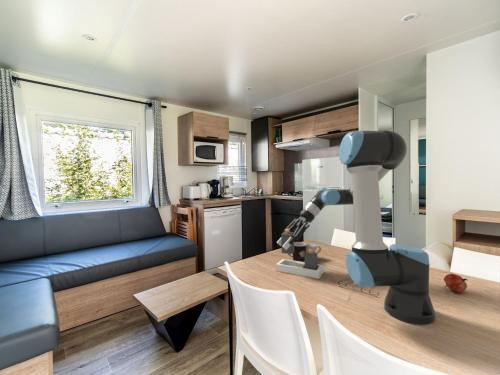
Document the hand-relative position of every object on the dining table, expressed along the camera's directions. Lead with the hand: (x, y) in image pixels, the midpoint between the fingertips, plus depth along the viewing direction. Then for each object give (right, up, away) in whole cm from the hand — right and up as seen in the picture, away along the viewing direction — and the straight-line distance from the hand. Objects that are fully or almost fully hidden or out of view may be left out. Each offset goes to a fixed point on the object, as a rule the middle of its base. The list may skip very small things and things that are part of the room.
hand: (281, 246), depth 130 cm
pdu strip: (+9, -13, -2) cm, 16 cm away
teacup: (+18, -12, +19) cm, 29 cm away
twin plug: (+14, -12, -5) cm, 19 cm away
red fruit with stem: (+68, -13, -26) cm, 74 cm away
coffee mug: (+10, -12, +14) cm, 22 cm away
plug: (+4, -3, +1) cm, 5 cm away
